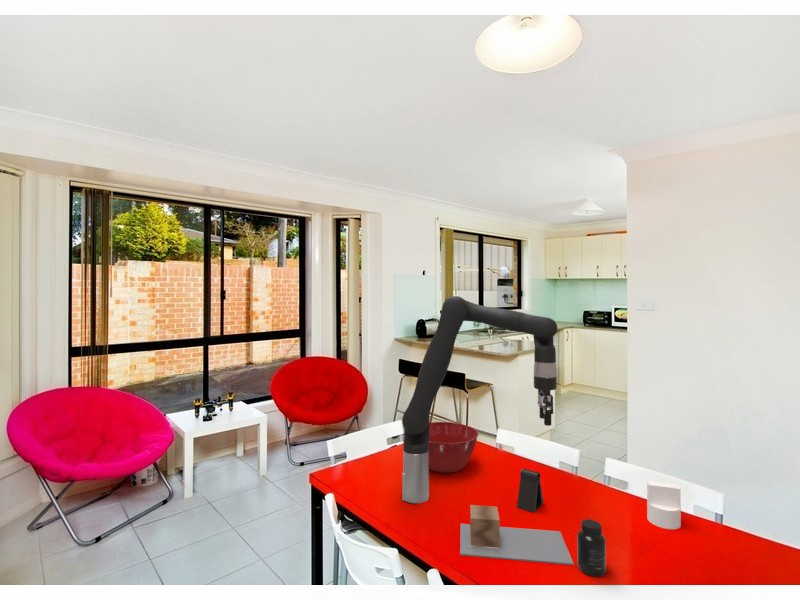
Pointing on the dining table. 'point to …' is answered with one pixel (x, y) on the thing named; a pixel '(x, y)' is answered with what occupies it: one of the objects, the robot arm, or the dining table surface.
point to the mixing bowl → (450, 446)
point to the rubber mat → (520, 545)
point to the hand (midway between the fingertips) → (545, 421)
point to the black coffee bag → (529, 491)
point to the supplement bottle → (591, 548)
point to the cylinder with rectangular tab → (664, 505)
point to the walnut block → (484, 526)
